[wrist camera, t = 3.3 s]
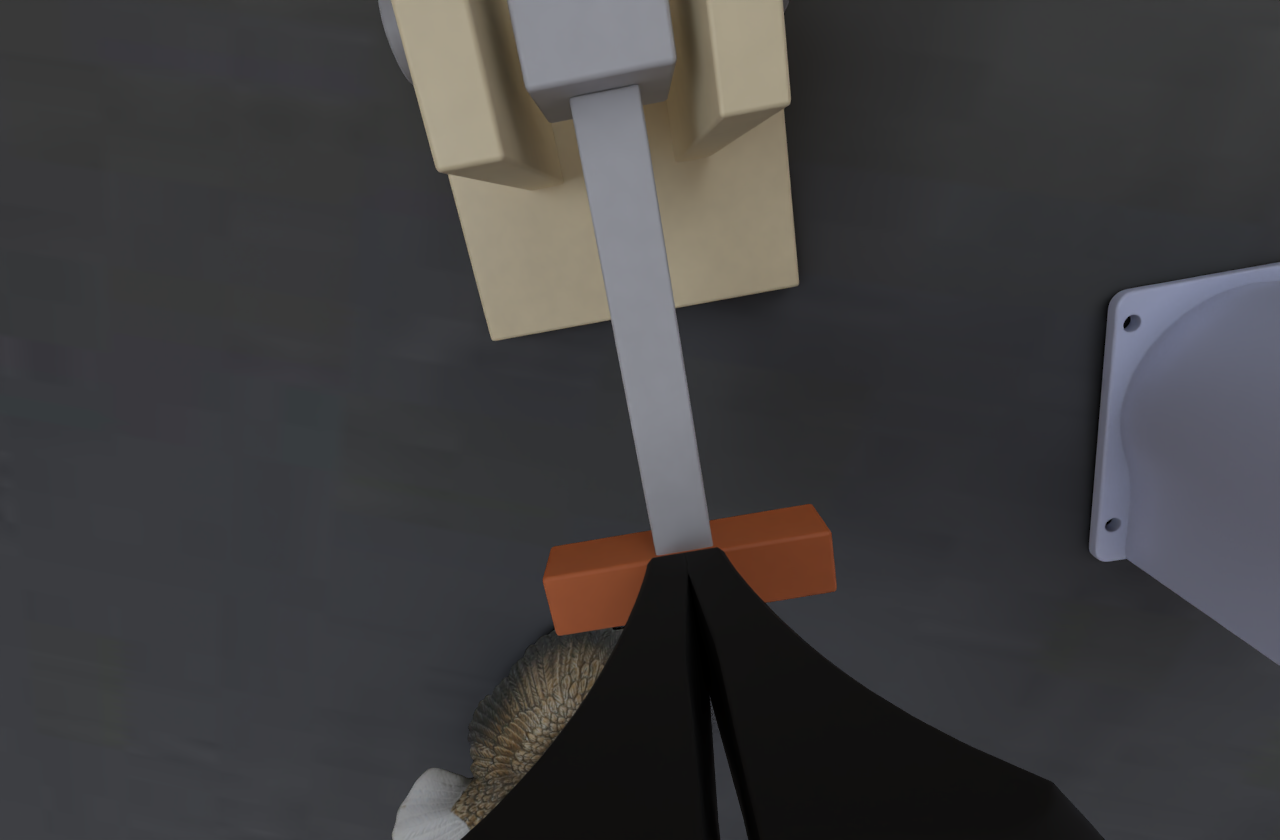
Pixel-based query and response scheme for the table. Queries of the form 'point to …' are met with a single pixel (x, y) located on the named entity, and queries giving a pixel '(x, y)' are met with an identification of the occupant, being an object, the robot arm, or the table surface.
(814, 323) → the table surface
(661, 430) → the lever
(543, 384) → the table surface
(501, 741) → the eagle figurine
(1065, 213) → the table surface
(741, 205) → the beige mounting bracket
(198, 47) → the table surface
